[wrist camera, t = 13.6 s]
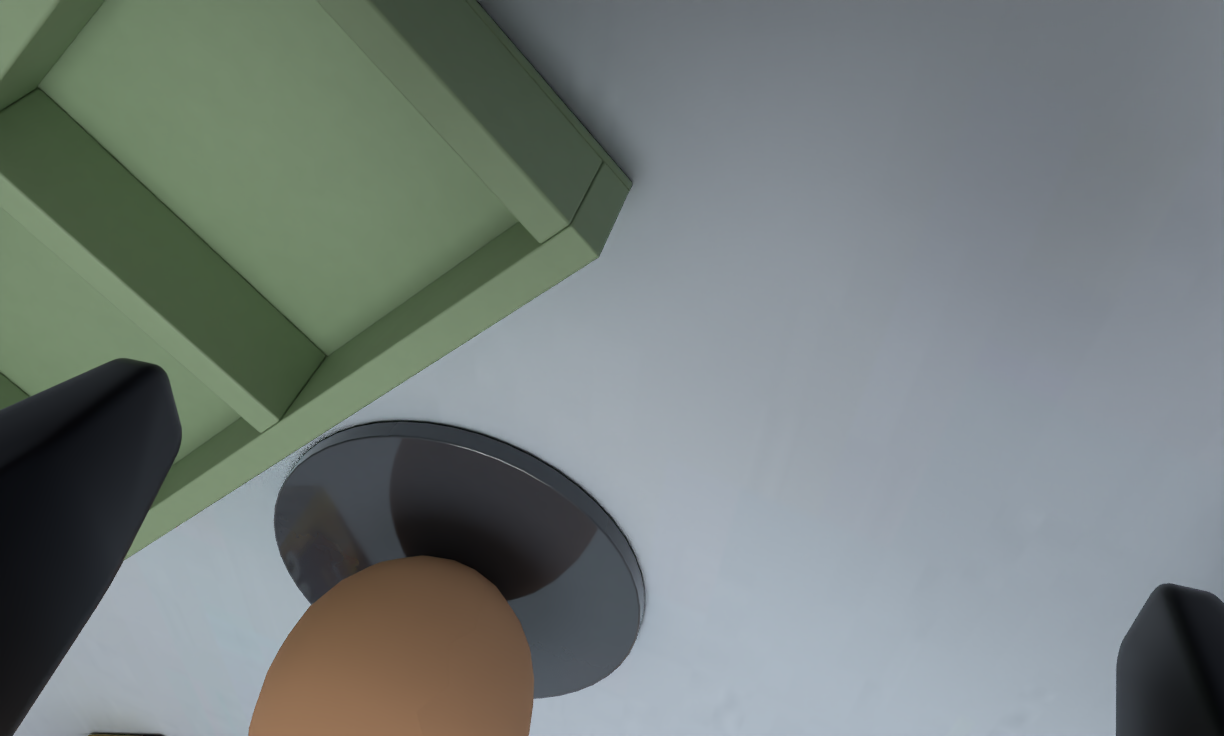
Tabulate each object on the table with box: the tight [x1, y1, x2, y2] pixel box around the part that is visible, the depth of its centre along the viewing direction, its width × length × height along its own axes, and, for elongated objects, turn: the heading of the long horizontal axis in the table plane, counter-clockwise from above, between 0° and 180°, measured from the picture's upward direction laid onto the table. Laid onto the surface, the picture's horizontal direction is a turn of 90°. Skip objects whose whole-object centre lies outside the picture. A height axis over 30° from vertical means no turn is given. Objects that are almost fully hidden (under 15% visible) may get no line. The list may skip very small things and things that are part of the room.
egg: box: [249, 556, 534, 736], centre depth 26 cm, size 7×7×9 cm
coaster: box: [274, 422, 644, 699], centre depth 30 cm, size 11×11×1 cm
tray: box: [0, 0, 632, 560], centre depth 24 cm, size 10×19×3 cm, turn 131°
